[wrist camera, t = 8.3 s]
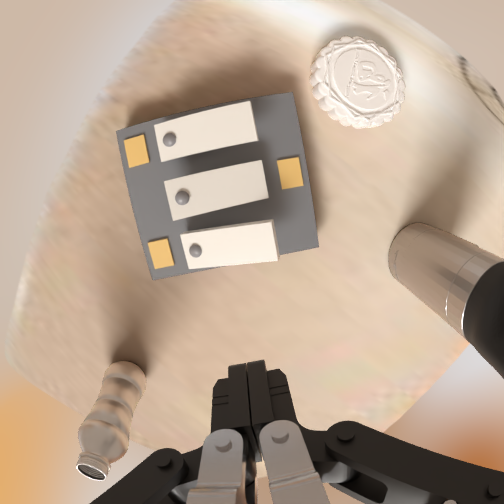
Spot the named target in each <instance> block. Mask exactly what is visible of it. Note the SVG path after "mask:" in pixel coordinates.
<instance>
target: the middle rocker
mask: <svg viewBox="0 0 504 504" xmlns="http://www.w3.org/2000/svg"><path fill="white" fill-rule="evenodd" d="M164 184H165V189H166V193H167V198H168V202H169V206H170V210H171V215H172V219H173V221H175V220H179V219H183V218H187V217H191V216H195V215H199V214H203V213H207V212H211V211H215V210H219V209H223V208H227V207H232V206H236V205H240V204H244V203H249V202H253V201H258V200H262V199H266V198H269V196H268V191H267V186H266V180H265V175H264V170H263V164H262V160H258V161H253V162H248V163H242V164H237V165H233V166H228V167H223V168H218V169H214V170H209V171H205V172H200V173H196V174H192V175H187V176H183V177H179V178H175V179H171V180H167V181H164Z"/></svg>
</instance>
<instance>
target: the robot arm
mask: <svg viewBox="0 0 504 504" xmlns="http://www.w3.org/2000/svg"><path fill="white" fill-rule="evenodd" d="M388 262H389V268H390V271H391V273H392V275H393V276H394V278H395V279H396V280H397V281H399V282H400V283H401V284H402V285H403V286H405V287H406V288H407V289H408V290H409V291H411V292H412V293H413V294H414V295H415V296H417V297H418V298H419V299H420V300H421V301H422V302H424V303H425V304H426V305H427V306H428V307H430V308H431V309H432V310H433V311H434V312H435V313H437V314H438V315H439V316H440V317H441V318H442V319H443V320H445V321H446V322H447V323H448V324H449V325H450V326H451V327H453V328H454V329H455V330H456V331H457V332H458V333H459V334H461V335H462V336H463V337H464V338H465V339H466V340H467V341H468V342H469V343H471V344H472V345H473V346H474V347H475V349H476V350H477V351H478V352H479V353H480V354H481V356H482V357H483V358H484V359H485V360H486V361H487V362H488V363H489V364H490V365H491V366H493V367H494V369H495V370H497V372H498V373H499V374H500V375H501V376H502V377H503V379H504V259H503V258H500V257H498V256H496V255H494V254H492V253H490V252H488V251H486V250H483V249H481V248H479V247H478V246H477V245H475V244H473V243H471V242H469V241H467V240H464V239H462V238H460V237H457V236H455V235H453V234H450V233H448V232H446V231H443V230H441V229H436V228H434V227H431V226H429V225H426V224H424V223H414V224H411V225H409V226H406V227H405V228H404V229H402V230H401V231H400V232H399V233H398V235H397V236H396V237H395V239H394V241H393V243H392V245H391V247H390V251H389V260H388ZM261 453H262V455H261ZM262 456H263V460H264V461H265V466H266V470H267V475H268V479H269V487H270V492H271V496H272V500H273V504H330V502H329V500H328V497H327V495H326V492H325V489H324V486H323V484H322V483H329V484H330V485H331V486H332V487H334V488H336V489H338V490H340V491H341V492H344V493H345V494H347V495H349V496H351V497H353V498H355V499H357V500H359V501H361V502H363V503H365V504H504V472H501V471H497V470H493V469H489V468H485V467H481V466H478V465H474V464H471V463H467V462H464V461H460V460H457V459H454V458H451V457H448V456H444V455H442V454H439V453H435V452H432V451H430V450H427V449H423V448H421V447H418V446H415V445H413V444H410V443H407V442H405V441H402V440H399V439H397V438H394V437H392V436H389V435H387V434H384V433H382V432H379V431H377V430H374V429H372V428H369V427H367V426H365V425H362V424H360V423H358V422H354V421H342V422H338V423H336V424H334V425H332V426H331V427H330V428H329V429H328V430H327V431H314V430H309V429H306V428H304V427H303V426H301V425H300V424H299V423H298V421H297V419H296V415H295V411H294V407H293V402H292V398H291V394H290V390H289V386H288V382H287V378H286V375H285V374H284V373H283V372H282V371H281V370H280V369H275V370H270V371H267V370H266V365H265V361H264V360H259V361H254V362H248V363H247V365H246V363H243V364H237V365H231V366H229V367H228V378H225V379H218V381H217V383H216V384H215V386H214V387H213V399H212V417H211V434H210V435H209V436H208V437H207V438H206V439H205V441H204V444H203V446H201V447H200V448H198V449H196V450H193V451H190V452H187V453H184V454H181V453H180V452H179V451H177V450H175V449H171V448H164V449H160V450H157V451H155V452H154V453H152V454H151V455H150V456H149V457H147V458H146V459H145V460H144V461H143V462H142V463H140V464H139V465H138V466H137V467H136V468H134V469H133V470H132V471H131V472H130V473H128V474H127V475H126V476H124V477H123V478H122V479H121V480H120V481H118V482H117V483H116V484H115V485H113V486H112V487H111V488H110V489H108V490H107V491H106V492H104V493H103V494H102V495H100V496H99V497H98V498H96V499H95V500H94V501H92V502H91V503H90V504H257V491H258V486H257V485H258V482H257V481H258V479H257V475H256V474H257V470H256V462H261V461H262Z"/></svg>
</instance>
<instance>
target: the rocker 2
mask: <svg viewBox="0 0 504 504" xmlns="http://www.w3.org/2000/svg"><path fill="white" fill-rule="evenodd" d="M180 237H181V241H182V245H183V249H184V252H185V256H186V260H187V264H188V268H189V269H197V268H208V267H218V266H229V265H239V264H249V263H260V262H270V261H278V260H279V257H280V255H279V249H278V243H277V237H276V232H275V226H274V220H273V219H271V220H263V221H256V222H248V223H241V224H234V225H227V226H220V227H213V228H206V229H199V230H192V231H185V232H183V233H182V234H180Z"/></svg>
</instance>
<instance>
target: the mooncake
mask: <svg viewBox="0 0 504 504" xmlns="http://www.w3.org/2000/svg"><path fill="white" fill-rule="evenodd" d="M311 72H312V73H313V74H312V75H311V76H310V79H309V80H310V83H311V85H312V86H313V89H312V94H313V96H314V97H315V98H316V99H318V104H319V106H320V108H321V109H322V110H324V111H327V113H328V115H329V117H330V118H331V119H333V120H339V122H340V123H341V124H342V125H344V126H350V125H352V126H353V127H354V128H357V129H360V128H366V127H368V128H371V127H377V126H381V125H382V124H383V123H384V122H389V121H391V120H392V119H393V117H394V114H397V113H398V112H399V111H400V109H401V105H400V104H401V103H403V102H404V99H405V96H404V93H403V91H404V90H405V83H404V81H403V80H402V77H403V74H402V71H401V69H400V68H398V67H397V62H396V60H395V59H394V58H393V57H392V56H390V55H388V52H387V50H386V49H385V48H384V47H381V46H378V45H377V44H376V43H375V42H374V41H373V40H365V39H364V38H362V37H360V36H355V37H353V38H351V37H349V36H343V37H341V38H340V39H339V40H336V39H335V40H332V41H331V42H330V43H329V44H328V45H327V46H326V47H324V48H322V49H321V51H320V52H319V53H318V54H317V55H316V58H315V61H314V63H313V64H312V65H311Z"/></svg>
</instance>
